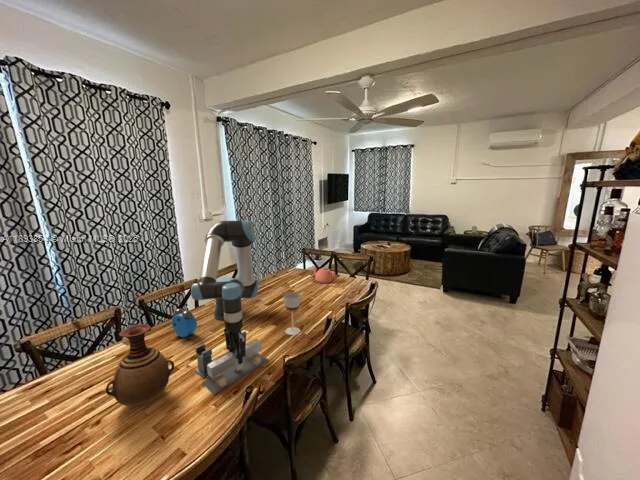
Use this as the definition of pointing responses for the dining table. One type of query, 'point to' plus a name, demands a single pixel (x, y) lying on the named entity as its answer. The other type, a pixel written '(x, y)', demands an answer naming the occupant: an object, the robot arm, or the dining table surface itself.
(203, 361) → the stand
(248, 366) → the mat
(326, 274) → the teapot
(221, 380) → the rests
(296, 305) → the wineglass
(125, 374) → the vase
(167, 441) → the dining table surface
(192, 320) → the alarm clock
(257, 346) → the rail
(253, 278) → the robot arm
